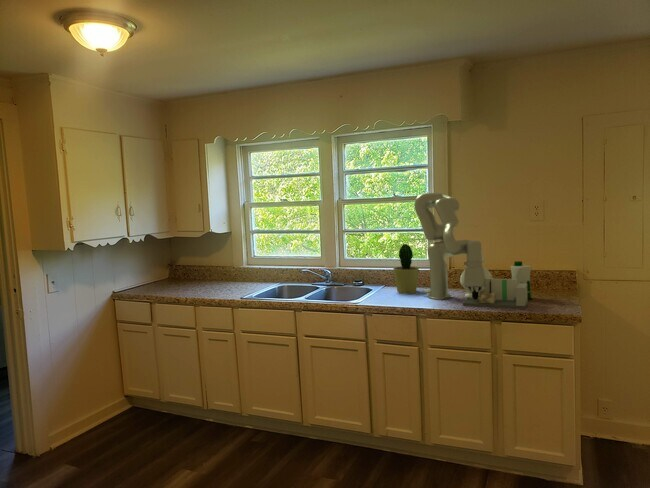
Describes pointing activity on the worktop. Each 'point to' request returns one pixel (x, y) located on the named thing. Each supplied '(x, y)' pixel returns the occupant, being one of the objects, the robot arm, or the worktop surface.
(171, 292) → the worktop surface
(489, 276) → the decorative vase
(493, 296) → the gauge slider
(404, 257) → the potted cactus
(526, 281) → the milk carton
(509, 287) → the gauge frame
